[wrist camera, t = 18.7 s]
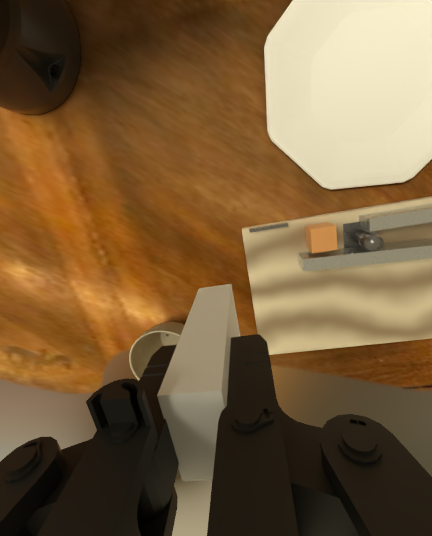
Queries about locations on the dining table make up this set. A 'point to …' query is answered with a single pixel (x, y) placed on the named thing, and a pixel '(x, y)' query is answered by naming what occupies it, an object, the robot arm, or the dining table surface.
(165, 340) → the flower pot
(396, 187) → the dining table surface
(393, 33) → the plate
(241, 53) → the dining table surface
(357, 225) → the tongs base
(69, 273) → the dining table surface
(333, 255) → the bar
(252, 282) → the board
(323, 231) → the orange cube
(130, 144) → the dining table surface
